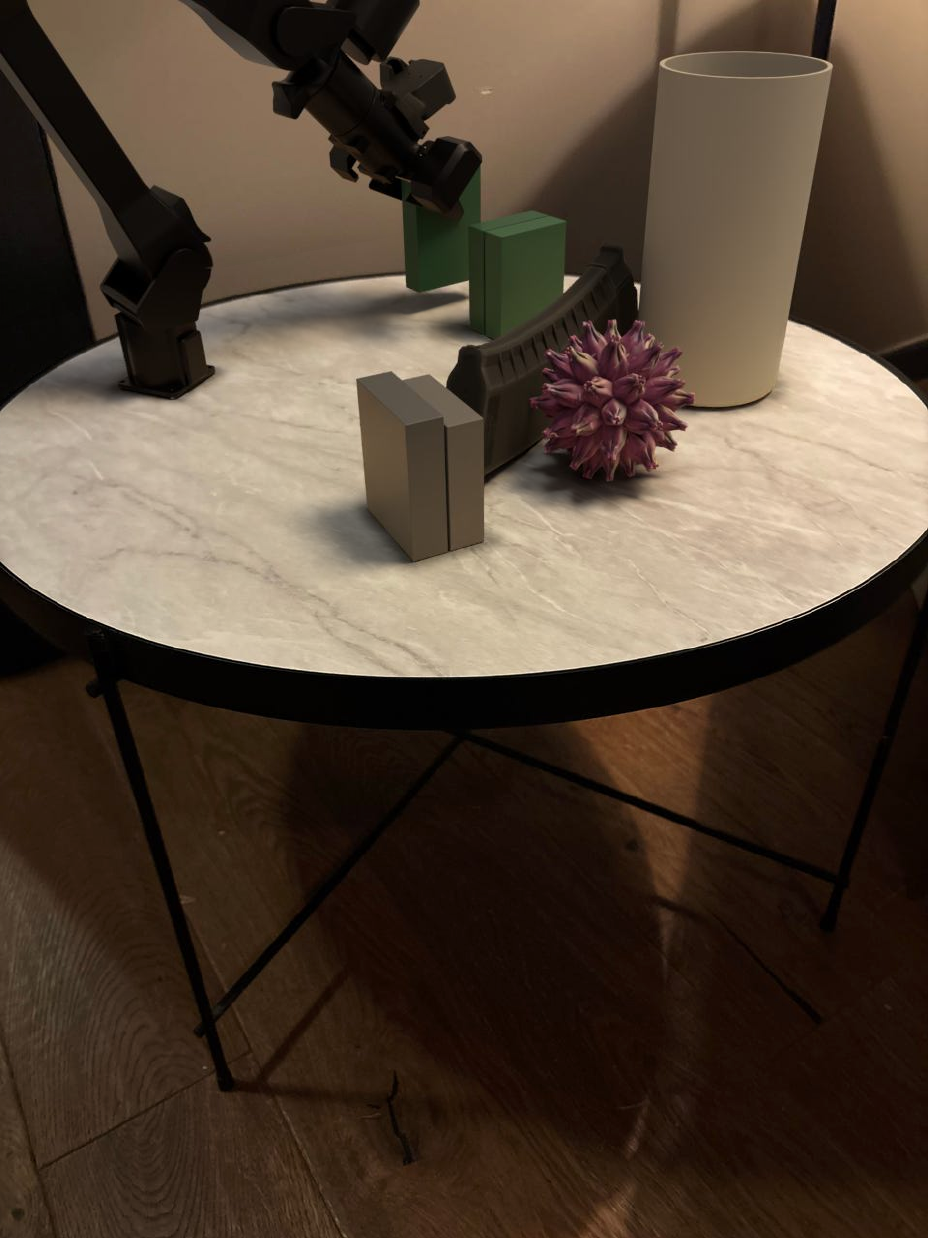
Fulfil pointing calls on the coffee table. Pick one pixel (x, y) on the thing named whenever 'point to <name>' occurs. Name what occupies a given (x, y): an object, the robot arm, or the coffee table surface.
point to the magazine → (539, 355)
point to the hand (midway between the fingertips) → (452, 213)
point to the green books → (514, 270)
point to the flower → (612, 400)
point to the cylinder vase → (729, 214)
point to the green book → (438, 240)
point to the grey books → (422, 463)
